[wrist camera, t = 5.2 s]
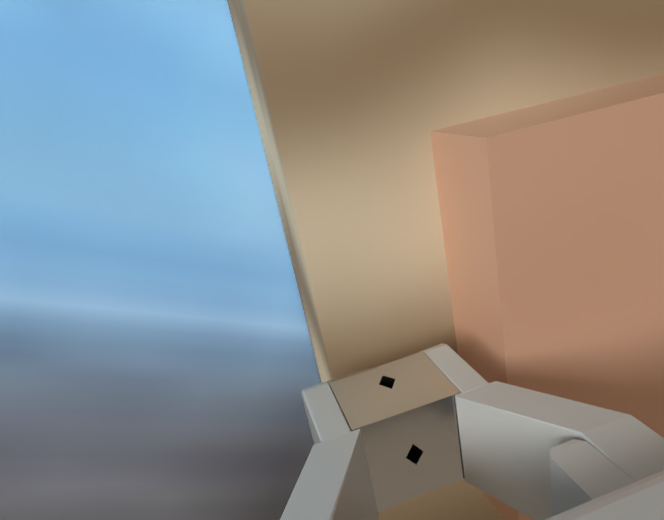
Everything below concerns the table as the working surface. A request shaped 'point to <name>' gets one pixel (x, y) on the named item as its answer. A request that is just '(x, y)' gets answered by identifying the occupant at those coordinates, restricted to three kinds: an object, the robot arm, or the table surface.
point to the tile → (561, 248)
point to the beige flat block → (406, 150)
